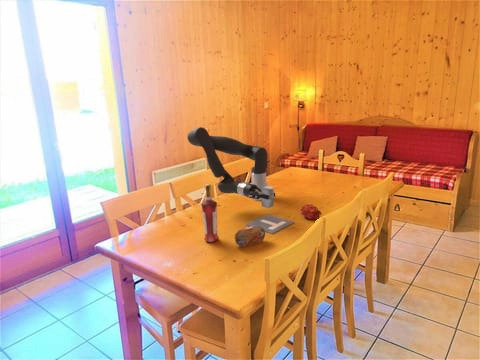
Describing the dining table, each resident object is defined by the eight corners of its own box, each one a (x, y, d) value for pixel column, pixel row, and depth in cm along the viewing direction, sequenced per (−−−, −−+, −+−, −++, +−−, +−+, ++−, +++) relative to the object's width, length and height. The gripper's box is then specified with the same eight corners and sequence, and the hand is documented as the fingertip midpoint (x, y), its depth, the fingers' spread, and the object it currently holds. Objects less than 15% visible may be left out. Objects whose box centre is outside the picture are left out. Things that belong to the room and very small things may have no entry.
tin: (237, 249, 167) (236, 232, 165) (234, 246, 170) (233, 229, 168) (265, 241, 174) (265, 225, 172) (262, 239, 177) (261, 222, 174)
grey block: (267, 204, 195) (267, 186, 192) (273, 205, 192) (273, 187, 189) (261, 206, 192) (261, 187, 189) (268, 208, 189) (268, 189, 186)
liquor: (205, 237, 181) (201, 182, 173) (219, 237, 181) (216, 182, 173) (203, 244, 174) (198, 187, 166) (218, 243, 174) (215, 187, 166)
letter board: (267, 215, 206) (267, 214, 206) (294, 223, 194) (294, 221, 194) (245, 225, 194) (245, 223, 194) (272, 234, 182) (272, 232, 181)
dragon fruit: (299, 218, 204) (319, 225, 198) (295, 214, 197) (316, 221, 191) (305, 204, 206) (325, 210, 199) (301, 199, 198) (322, 206, 192)
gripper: (237, 186, 194) (262, 192, 182) (256, 180, 204) (280, 186, 192) (238, 199, 196) (262, 206, 184) (256, 193, 206) (280, 199, 194)
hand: (271, 196), depth 188 cm, fingers closed on grey block, 4 cm apart
